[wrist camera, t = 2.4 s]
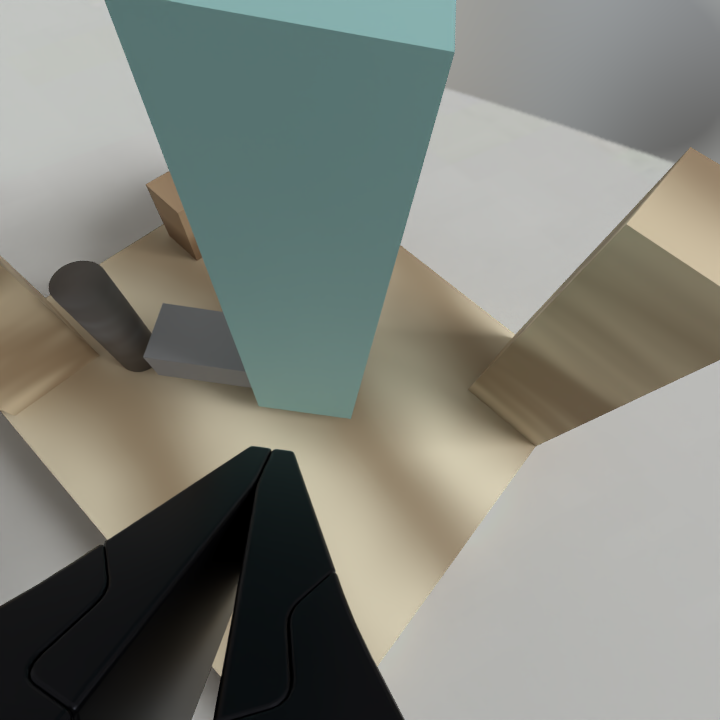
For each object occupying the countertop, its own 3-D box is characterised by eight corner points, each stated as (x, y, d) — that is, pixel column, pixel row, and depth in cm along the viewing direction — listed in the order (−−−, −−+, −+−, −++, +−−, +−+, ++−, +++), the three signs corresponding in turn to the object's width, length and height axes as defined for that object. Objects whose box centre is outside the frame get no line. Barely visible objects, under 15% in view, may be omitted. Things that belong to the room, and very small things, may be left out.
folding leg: (153, 391, 16) (-328, -88, 4) (181, 311, 17) (-109, -213, 5) (350, 418, 16) (454, 52, 4) (360, 338, 17) (459, -102, 6)
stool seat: (302, 744, 14) (263, 1397, 3) (-10, 374, 18) (-496, 110, 7) (556, 399, 20) (835, 226, 9) (282, 181, 24) (256, -118, 13)
